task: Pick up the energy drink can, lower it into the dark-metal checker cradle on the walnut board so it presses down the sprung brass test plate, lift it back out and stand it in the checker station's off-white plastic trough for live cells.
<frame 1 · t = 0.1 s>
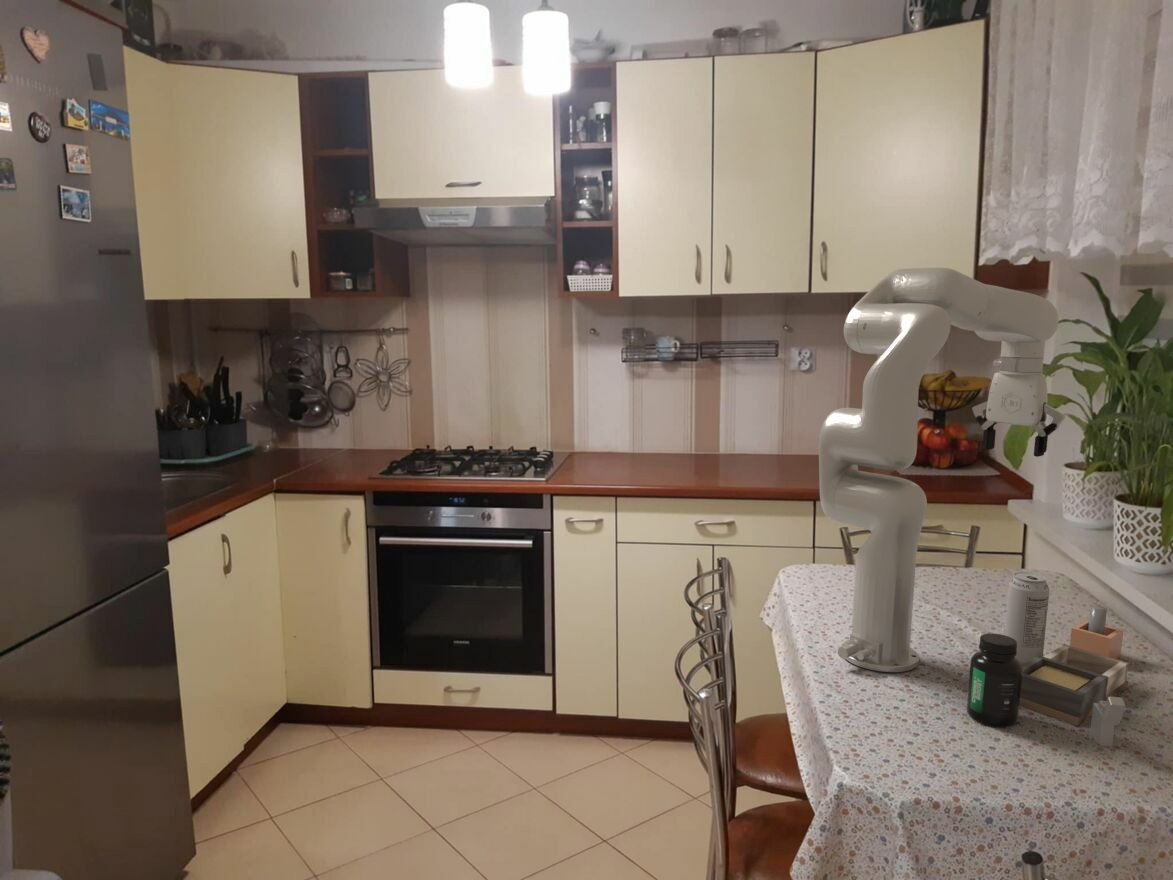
hand: (1013, 452, 167), 31 cm above the table, fingers open, 9 cm apart
supplement bottle: (991, 718, 123), on the table
grey notched block: (1104, 745, 116), on the table
energy drink can: (1021, 662, 143), on the table
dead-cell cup: (1094, 656, 145), on the table
checker plate: (1058, 682, 127), point 3 cm above the table, slide at 0.0 cm
checker station: (1068, 693, 131), on the table
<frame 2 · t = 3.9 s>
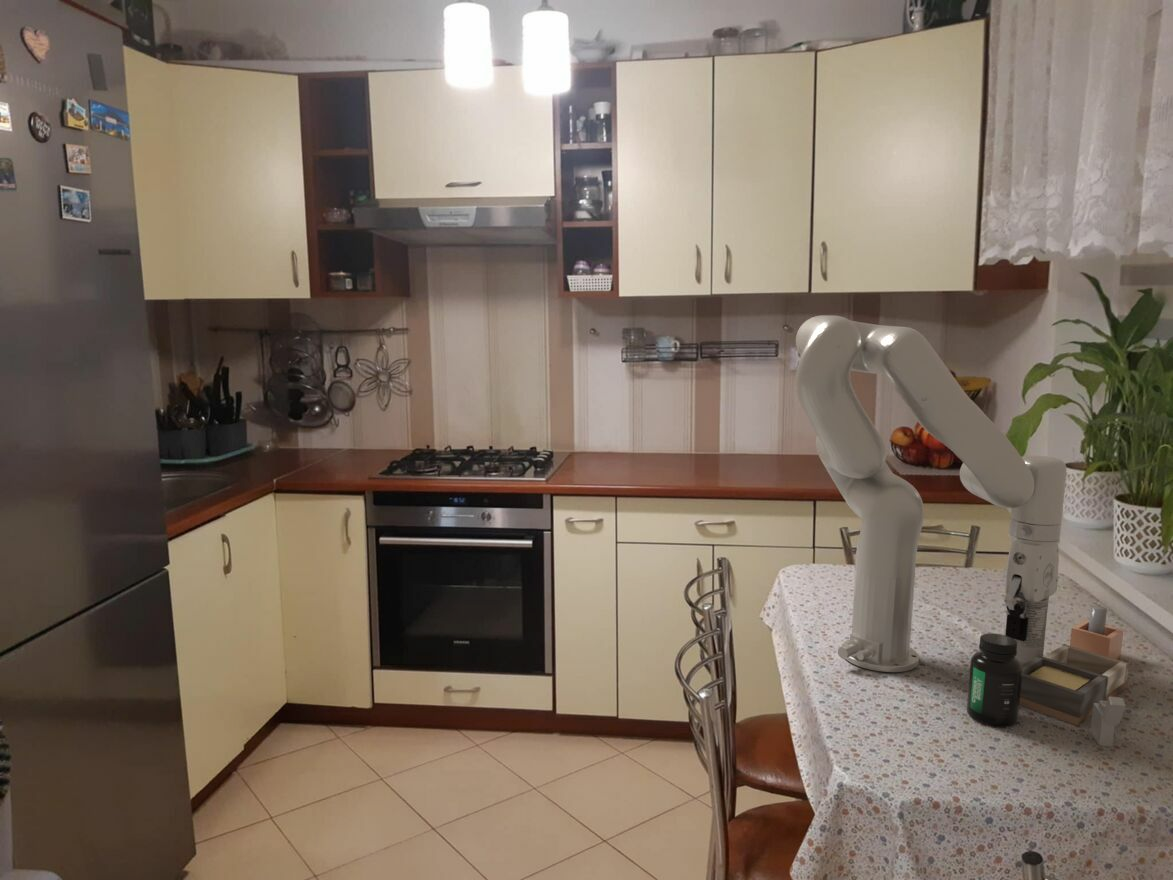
hand: (1024, 632, 142), 5 cm above the table, fingers closed on energy drink can, 6 cm apart
energy drink can: (1021, 662, 143), on the table, touching gripper
everything else where it was.
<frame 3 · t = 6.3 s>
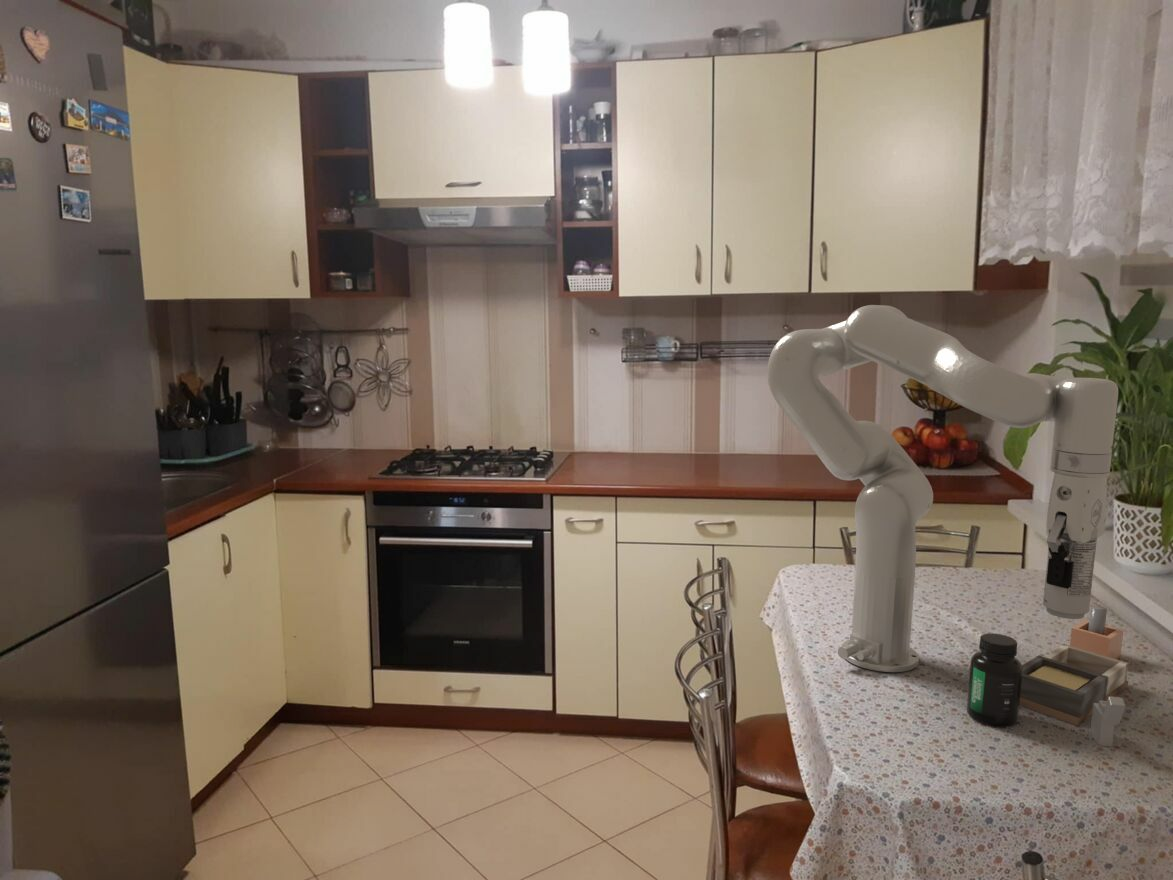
hand: (1068, 580, 125), 19 cm above the table, fingers closed on energy drink can, 6 cm apart
energy drink can: (1064, 614, 126), point 14 cm above the table, touching gripper
everything else where it was.
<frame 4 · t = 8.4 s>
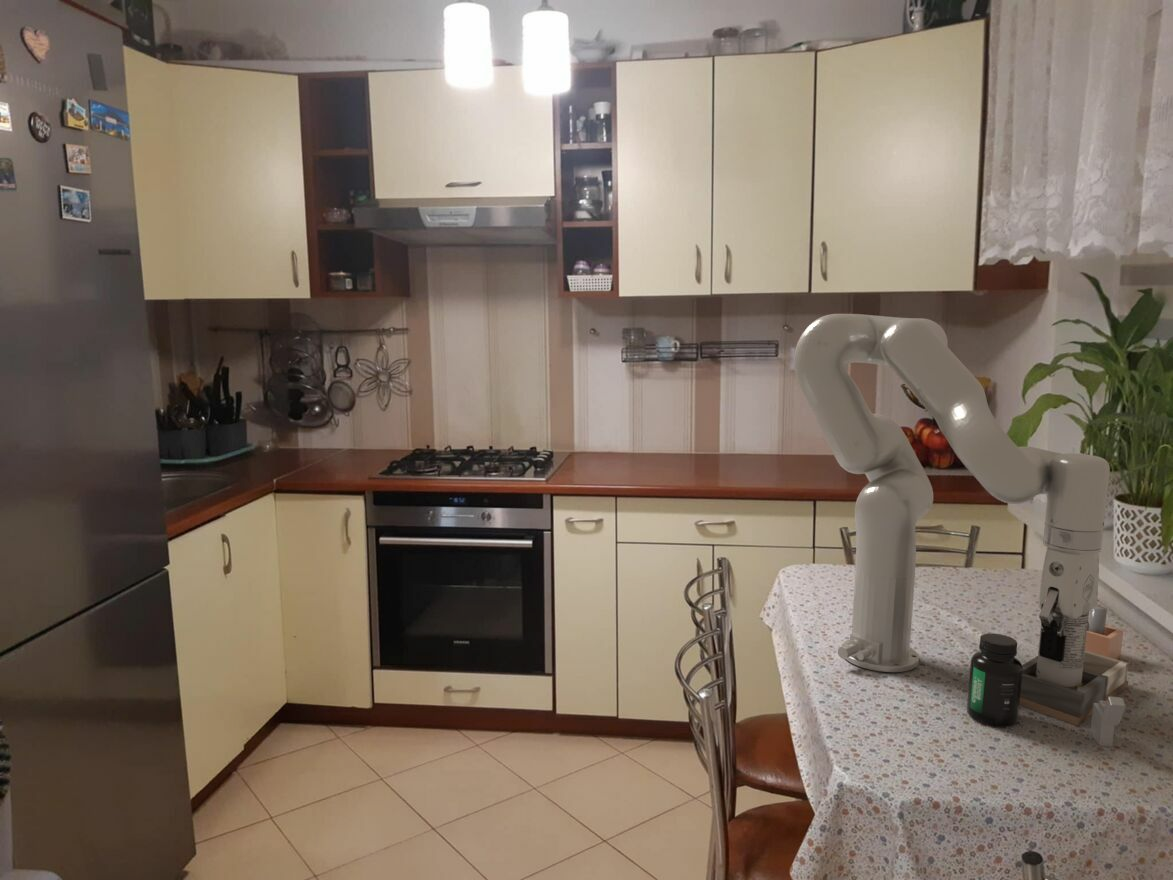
hand: (1060, 651, 127), 8 cm above the table, fingers closed on energy drink can, 6 cm apart
energy drink can: (1057, 685, 127), point 3 cm above the table, touching gripper
checker plate: (1057, 688, 128), point 2 cm above the table, slide at 1.0 cm
everything else where it was.
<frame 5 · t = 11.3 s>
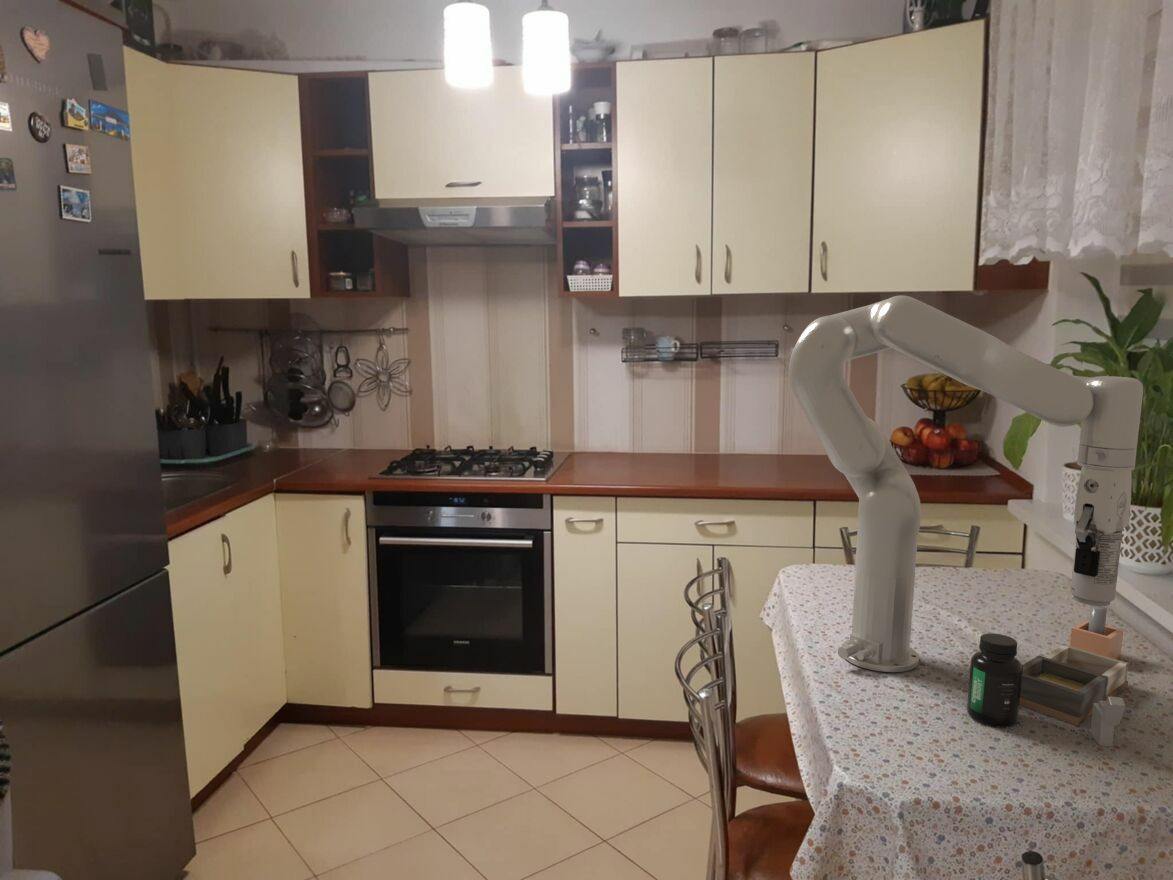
hand: (1094, 569, 131), 19 cm above the table, fingers closed on energy drink can, 6 cm apart
energy drink can: (1091, 602, 132), point 14 cm above the table, touching gripper
everything else where it was.
when the fingers open (7 cm above the table, at t = 13.8 s): energy drink can drops 1 cm, resting on checker station.
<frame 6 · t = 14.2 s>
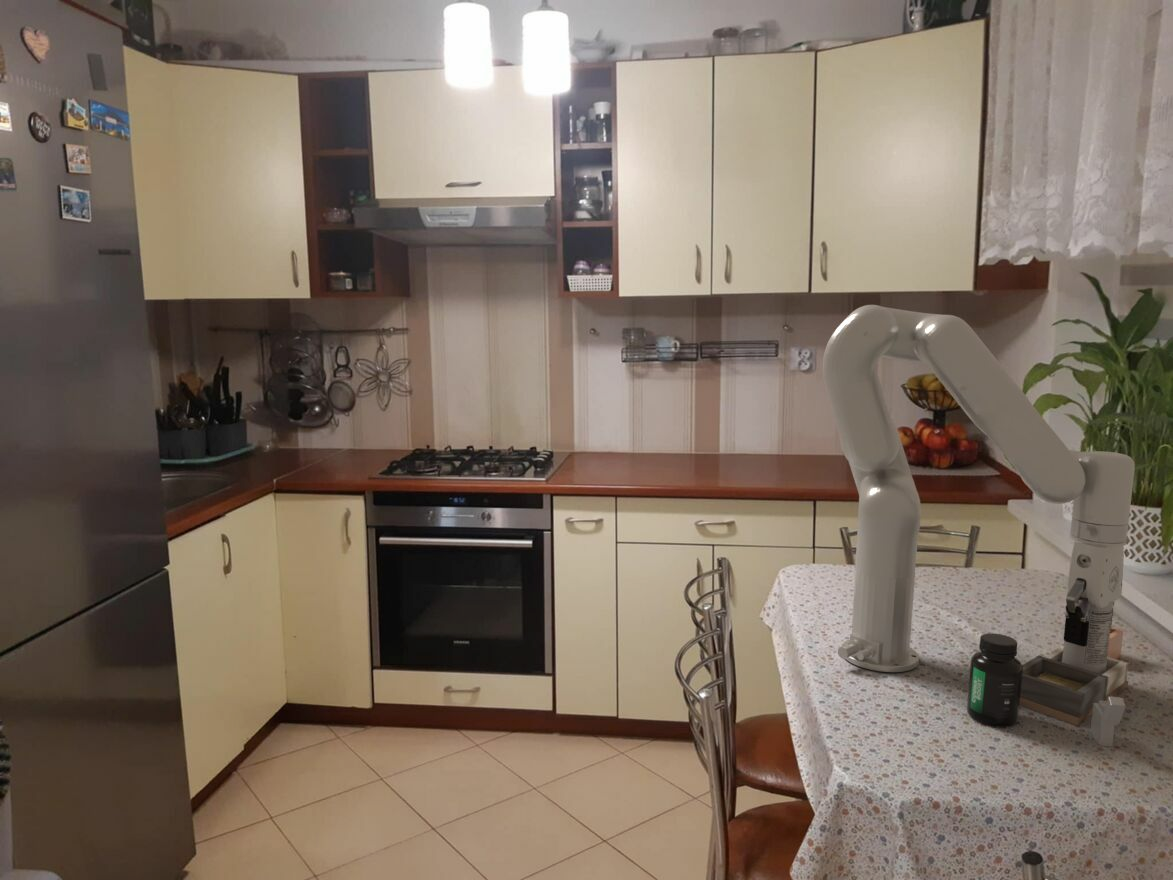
hand: (1087, 636, 133), 8 cm above the table, fingers open, 9 cm apart
energy drink can: (1082, 679, 134), point 1 cm above the table, touching checker station
everything else where it was.
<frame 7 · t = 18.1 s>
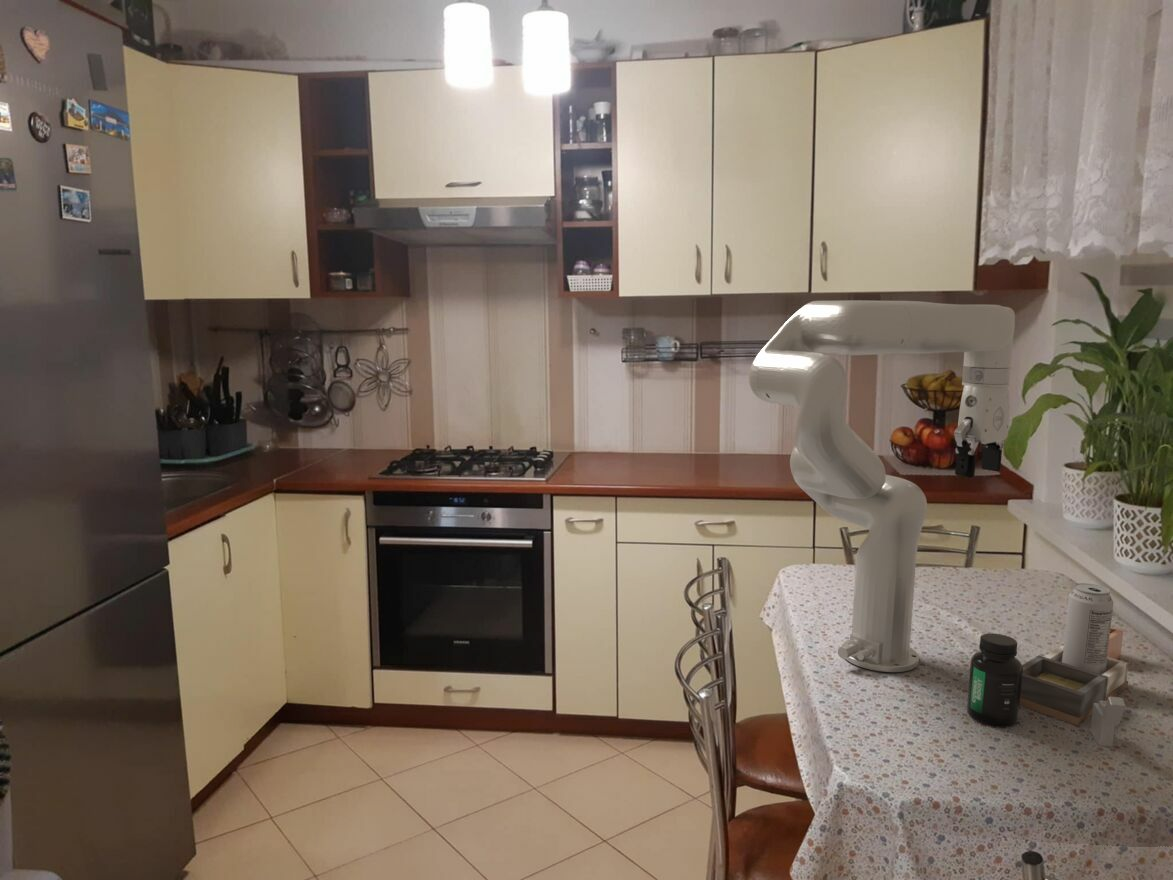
hand: (977, 473, 150), 30 cm above the table, fingers open, 9 cm apart
nothing on the table moved.
at the end: energy drink can inside the target area (0.2 cm from its centre), point 0.8 cm above the table; energy drink can tilted 0°; the gripper is holding nothing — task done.
